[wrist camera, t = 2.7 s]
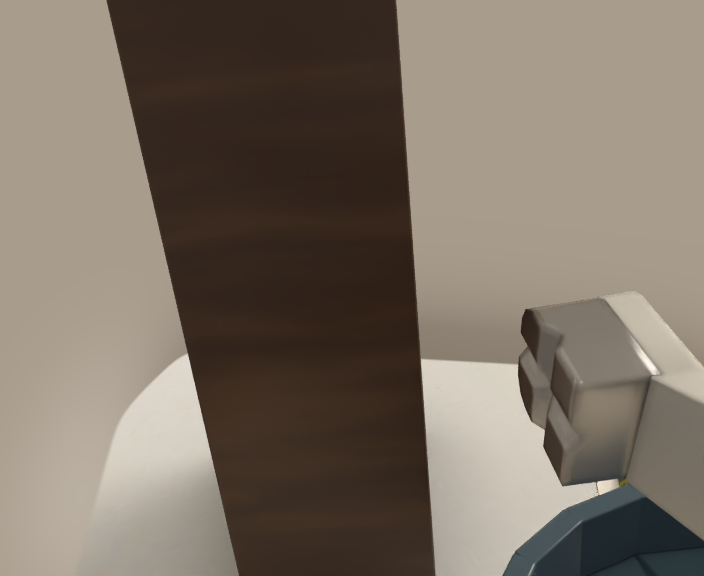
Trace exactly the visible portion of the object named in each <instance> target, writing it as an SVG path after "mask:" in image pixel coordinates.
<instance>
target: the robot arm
mask: <svg viewBox="0 0 704 576" xmlns="http://www.w3.org/2000/svg"><path fill="white" fill-rule="evenodd" d="M521 334H522V336H523V338H524V340H525V342H526V343H527V345H528V347H527V348H526V349H525V350H524V351H523V353H522V354H521V355H520V356H519V364H518V378H519V385H520V392H521V396H522V399H523V402H524V406H525V408H526V411H527V413H528V415H529V417H530V420H531V422H533V423H534V424H536V425H538V426H539V427H541V428H542V429H544V430H545V436H544V445H543V447H544V449H545V451H546V453H547V455H548V458H549V460H550V462H551V464H552V466H553V468H554V470H555V472H556V474H557V476H558V478H559V480H560V482H561V484H562V486H569V485H576V484H583V483H591V482H598V481H605V480H613V479H620V478H626V482H628V483H629V484H630V485H632V486H633V487H634V488H636V489H637V490H638V491H639V492H641V493H642V494H643V495H645V496H646V497H647V498H649V499H650V500H651V501H653V502H654V503H655V504H656V505H658V506H659V507H660V508H662V509H663V510H664V511H666V512H667V513H668V514H670V515H671V516H672V517H673V518H675V519H676V520H677V521H679V522H680V523H681V524H683V525H684V526H685V527H687V528H688V529H689V530H690V531H692V532H693V533H694V534H696V535H697V536H698V537H700V538H701V539H702V540H704V367H703V365H702V364H701V363H700V362H699V361H698V360H697V358H696V357H695V356H694V355H693V354H692V353H691V352H690V350H689V349H688V348H687V347H686V346H685V345H684V343H683V342H682V341H681V340H680V339H679V338H678V336H677V335H676V334H675V333H674V332H673V331H672V330H671V328H670V327H669V326H668V325H667V324H666V323H665V321H664V320H663V319H662V318H661V317H660V316H659V314H658V313H657V312H656V311H655V310H654V309H653V307H652V306H651V305H650V304H649V303H648V302H647V300H646V299H645V298H644V297H643V296H642V295H641V294H639V293H637V292H635V291H630V292H624V293H618V294H612V295H607V296H601V297H598V298H596V299H588V300H581V301H575V302H569V303H562V304H556V305H549V306H543V307H537V308H531V309H526V310H525V312H524V315H523V317H522V325H521Z"/></svg>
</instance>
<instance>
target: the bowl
mask: <svg viewBox="0 0 704 576" xmlns="http://www.w3.org/2000/svg"><path fill="white" fill-rule="evenodd" d="M502 576H704V540H702V539H701V538H700V537H698V536H697V535H696V534H694V533H693V532H692V531H690V530H689V529H688V528H687V527H685V526H684V525H683V524H681V523H680V522H679V521H677V520H676V519H675V518H673V517H672V516H671V515H670V514H668V513H667V512H666V511H664V510H663V509H662V508H660V507H659V506H658V505H656V504H655V503H654V502H653V501H651V500H650V499H649V498H647V497H646V496H645V495H643V494H642V493H641V492H639V491H638V490H637V489H636V488H634V487H633V486H632V485H630V484H629V485H628V484H626V485H624V486H621V487H619V488H616V489H614V490H611V491H609V492H606V493H604V494H601V495H599V496H596V497H594V498H591V499H589V500H586V501H584V502H581V503H578V504H576V505H573V506H571V507H568V508H566V509H565V510H563V511H561V512H560V513H559V514H558V515H557V516H556V517H555V518H553V519H552V520H551V521H550V522H549V523H548V524H546V525H545V526H544V527H543V528H542V529H541V530H539V531H538V532H537V533H536V534H535V535H534V536H533V537H531V538H530V539H529V540H528V541H527V542H526V543H524V544H523V545H522V546H521V547H520V548H519V549H517V550H516V551H515V554H513V556H512V558H511V560H510V562H509V564H508V566H507V568H506V570H505V572H504V573H503V575H502Z"/></svg>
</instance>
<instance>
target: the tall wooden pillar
mask: <svg viewBox="0 0 704 576" xmlns="http://www.w3.org/2000/svg"><path fill="white" fill-rule="evenodd" d="M107 4H108V9H109V13H110V17H111V21H112V26H113V30H114V35H115V39H116V43H117V48H118V52H119V56H120V61H121V65H122V69H123V73H124V78H125V82H126V87H127V91H128V95H129V100H130V104H131V108H132V113H133V117H134V121H135V125H136V130H137V134H138V139H139V143H140V147H141V152H142V156H143V160H144V165H145V169H146V173H147V178H148V182H149V187H150V191H151V195H152V199H153V204H154V208H155V213H156V217H157V221H158V226H159V230H160V234H161V239H162V243H163V247H164V252H165V256H166V260H167V265H168V269H169V273H170V278H171V282H172V286H173V291H174V295H175V299H176V304H177V308H178V312H179V317H180V321H181V325H182V329H183V334H184V338H185V343H186V347H187V351H188V356H189V360H190V365H191V369H192V373H193V378H194V382H195V386H196V391H197V395H198V399H199V404H200V408H201V412H202V417H203V421H204V425H205V430H206V434H207V438H208V443H209V447H210V451H211V456H212V460H213V464H214V469H215V473H216V477H217V482H218V486H219V490H220V495H221V499H222V503H223V508H224V512H225V516H226V521H227V525H228V529H229V534H230V538H231V543H232V547H233V551H234V556H235V560H236V564H237V569H238V573H239V576H436V575H435V560H434V546H433V531H432V516H431V502H430V487H429V473H428V458H427V444H426V429H425V414H424V400H423V385H422V371H421V356H420V341H419V327H418V312H417V298H416V283H415V269H414V255H413V240H412V225H411V211H410V196H409V181H408V167H407V152H406V137H405V123H404V108H403V94H402V79H401V64H400V50H399V35H398V21H397V7H396V0H107Z"/></svg>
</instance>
